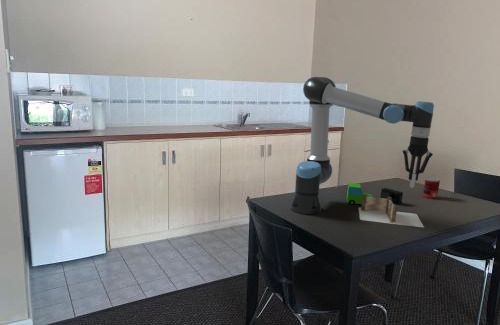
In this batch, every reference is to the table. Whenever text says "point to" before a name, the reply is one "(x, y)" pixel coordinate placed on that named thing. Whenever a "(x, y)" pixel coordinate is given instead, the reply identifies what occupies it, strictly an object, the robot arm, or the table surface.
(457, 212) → the table surface
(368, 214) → the card
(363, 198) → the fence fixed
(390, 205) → the fence gate
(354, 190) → the toy car
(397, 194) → the digital camera
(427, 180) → the canned food
